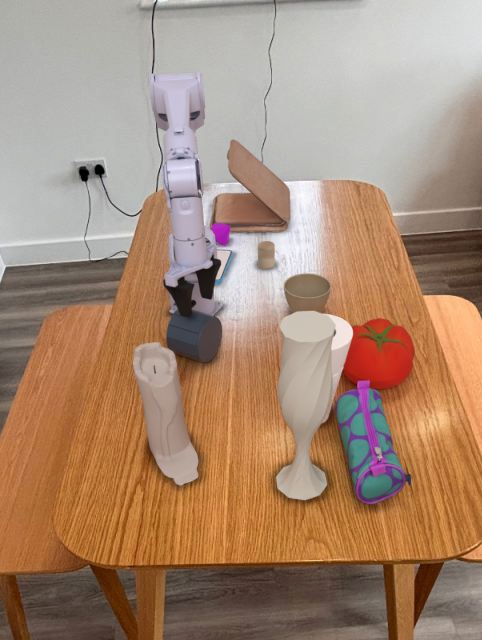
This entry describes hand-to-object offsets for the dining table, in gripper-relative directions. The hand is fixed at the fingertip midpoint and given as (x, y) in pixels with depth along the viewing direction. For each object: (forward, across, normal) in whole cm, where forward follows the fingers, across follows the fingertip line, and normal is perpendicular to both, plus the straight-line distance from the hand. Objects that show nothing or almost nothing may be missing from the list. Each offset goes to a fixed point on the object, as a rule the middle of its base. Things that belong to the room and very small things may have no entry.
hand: (196, 306), depth 122 cm
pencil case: (+15, -12, -40) cm, 45 cm away
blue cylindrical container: (+6, +1, -2) cm, 6 cm away
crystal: (+8, +44, +22) cm, 50 cm away
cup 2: (+14, -5, -28) cm, 31 cm away
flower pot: (+11, +24, -12) cm, 29 cm away
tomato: (+13, +11, -33) cm, 37 cm away
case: (+7, +60, +22) cm, 64 cm away
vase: (+15, -21, -32) cm, 41 cm away
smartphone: (+9, +32, +17) cm, 38 cm away
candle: (+14, -26, -10) cm, 31 cm away
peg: (+9, +39, +6) cm, 41 cm away
